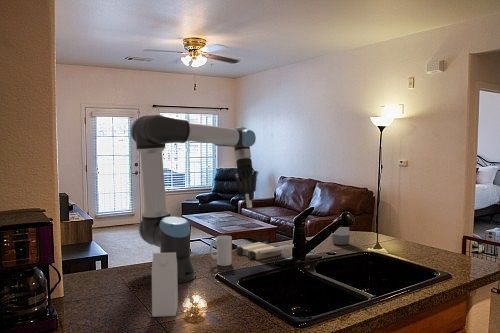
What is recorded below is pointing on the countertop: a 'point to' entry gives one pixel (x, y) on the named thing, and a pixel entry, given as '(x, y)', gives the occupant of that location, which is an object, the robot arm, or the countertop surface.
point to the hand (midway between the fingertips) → (249, 207)
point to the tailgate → (276, 248)
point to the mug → (222, 250)
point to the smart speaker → (341, 236)
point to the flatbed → (253, 249)
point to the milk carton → (164, 284)
